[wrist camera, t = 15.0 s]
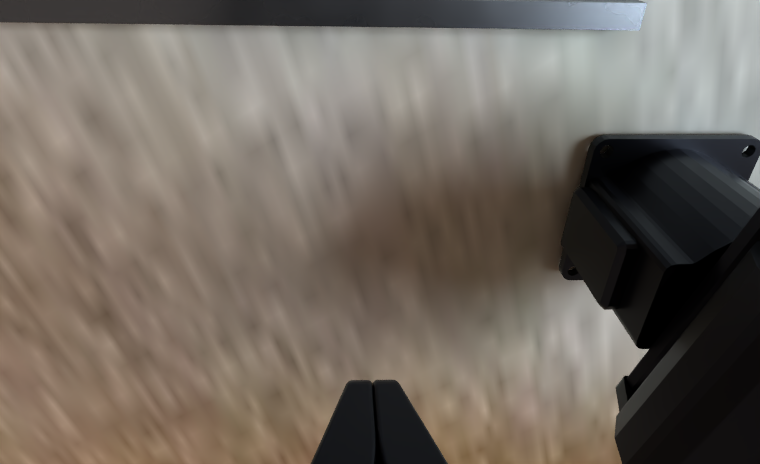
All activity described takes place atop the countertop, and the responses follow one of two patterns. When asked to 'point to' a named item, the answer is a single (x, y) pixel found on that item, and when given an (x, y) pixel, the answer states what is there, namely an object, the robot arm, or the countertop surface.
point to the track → (338, 13)
